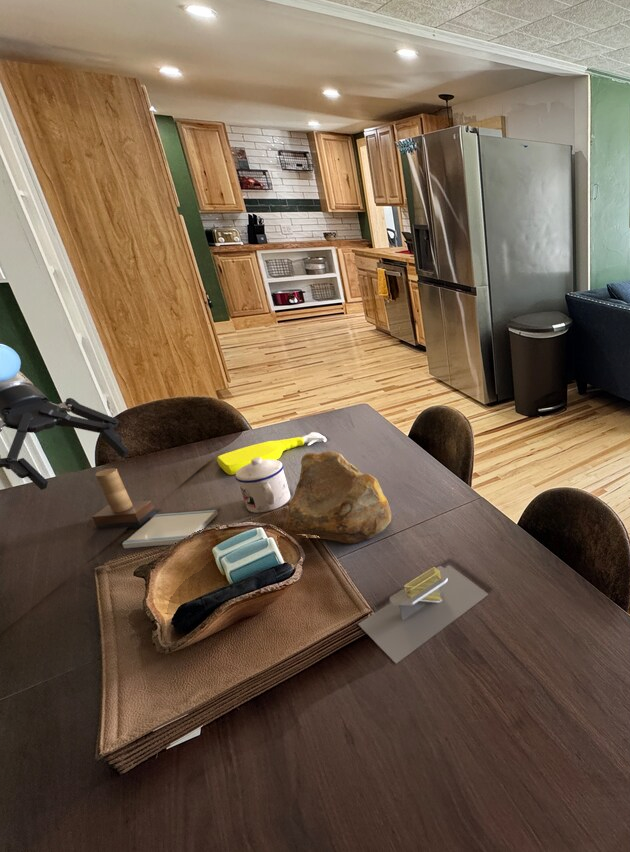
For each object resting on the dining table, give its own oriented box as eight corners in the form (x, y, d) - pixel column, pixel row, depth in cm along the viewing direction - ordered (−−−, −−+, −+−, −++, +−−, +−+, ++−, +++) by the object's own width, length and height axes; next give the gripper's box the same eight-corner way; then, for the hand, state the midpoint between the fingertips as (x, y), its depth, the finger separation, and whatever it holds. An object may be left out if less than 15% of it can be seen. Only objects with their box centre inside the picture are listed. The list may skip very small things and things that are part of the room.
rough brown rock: (270, 531, 102) (245, 475, 95) (343, 490, 114) (325, 438, 107) (328, 578, 91) (305, 518, 84) (403, 527, 103) (388, 471, 96)
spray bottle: (216, 464, 126) (314, 434, 144) (230, 478, 120) (330, 445, 138) (213, 455, 125) (312, 426, 143) (227, 468, 119) (328, 436, 137)
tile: (124, 548, 96) (121, 543, 95) (158, 518, 105) (156, 513, 104) (190, 542, 97) (188, 537, 97) (218, 514, 106) (216, 509, 106)
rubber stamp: (99, 532, 100) (73, 479, 95) (117, 518, 105) (93, 467, 100) (141, 529, 101) (118, 476, 96) (158, 515, 106) (136, 464, 101)
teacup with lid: (242, 501, 111) (228, 458, 106) (286, 487, 117) (274, 445, 112) (252, 525, 103) (237, 479, 98) (299, 508, 109) (287, 464, 104)
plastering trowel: (488, 594, 85) (485, 565, 83) (396, 663, 72) (389, 632, 70) (449, 565, 92) (445, 537, 90) (357, 623, 79) (350, 593, 77)
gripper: (83, 385, 111) (150, 451, 113) (-83, 429, 89) (2, 510, 91) (89, 366, 108) (158, 434, 109) (-83, 407, 86) (6, 492, 87)
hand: (87, 469), depth 100 cm, fingers open, 13 cm apart
